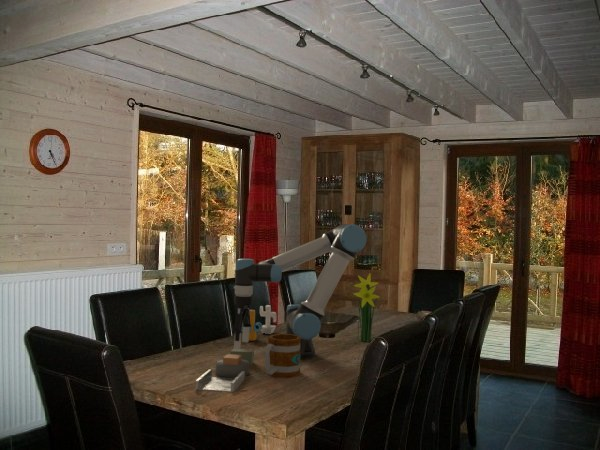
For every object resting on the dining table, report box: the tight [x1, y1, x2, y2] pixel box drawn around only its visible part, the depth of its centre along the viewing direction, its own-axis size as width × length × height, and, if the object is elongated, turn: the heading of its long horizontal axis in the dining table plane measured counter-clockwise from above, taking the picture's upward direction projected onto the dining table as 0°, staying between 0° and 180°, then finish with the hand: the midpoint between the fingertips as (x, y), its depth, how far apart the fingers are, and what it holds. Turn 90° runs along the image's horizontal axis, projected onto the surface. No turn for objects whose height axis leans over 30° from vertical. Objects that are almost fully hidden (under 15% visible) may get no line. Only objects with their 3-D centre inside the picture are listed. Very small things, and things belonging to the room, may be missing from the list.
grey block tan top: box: [215, 353, 250, 378], centre depth 228 cm, size 13×13×7 cm
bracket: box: [194, 368, 246, 393], centre depth 212 cm, size 14×16×4 cm
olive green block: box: [230, 348, 255, 367], centre depth 243 cm, size 9×5×6 cm, turn 83°
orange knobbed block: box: [241, 309, 263, 342], centre depth 293 cm, size 12×10×15 cm
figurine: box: [259, 304, 277, 335], centre depth 311 cm, size 7×9×15 cm
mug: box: [264, 333, 301, 379], centre depth 226 cm, size 20×14×15 cm
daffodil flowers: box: [352, 272, 381, 344], centre depth 292 cm, size 17×15×35 cm
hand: (241, 345), depth 243 cm, fingers open, 13 cm apart
